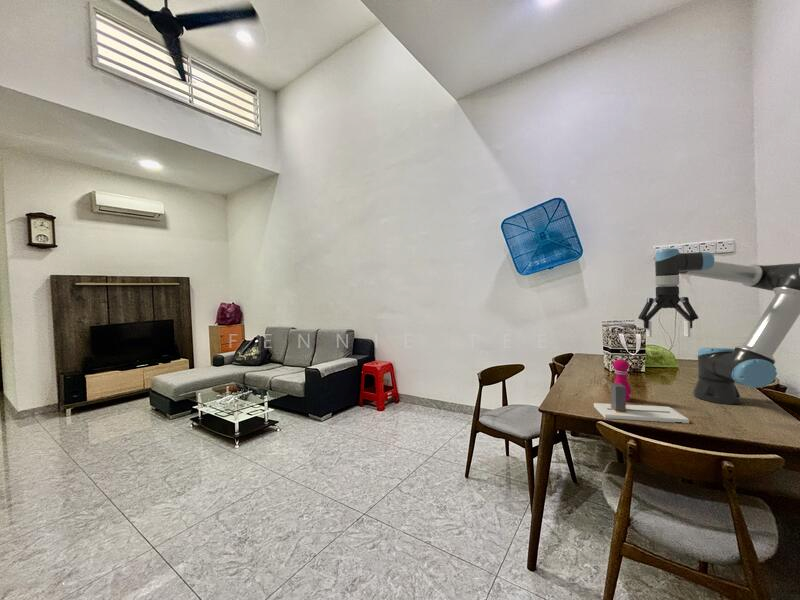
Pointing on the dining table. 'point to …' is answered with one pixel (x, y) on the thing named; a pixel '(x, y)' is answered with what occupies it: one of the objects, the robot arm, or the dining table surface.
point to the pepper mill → (622, 375)
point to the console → (641, 413)
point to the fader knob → (618, 397)
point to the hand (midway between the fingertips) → (667, 336)
